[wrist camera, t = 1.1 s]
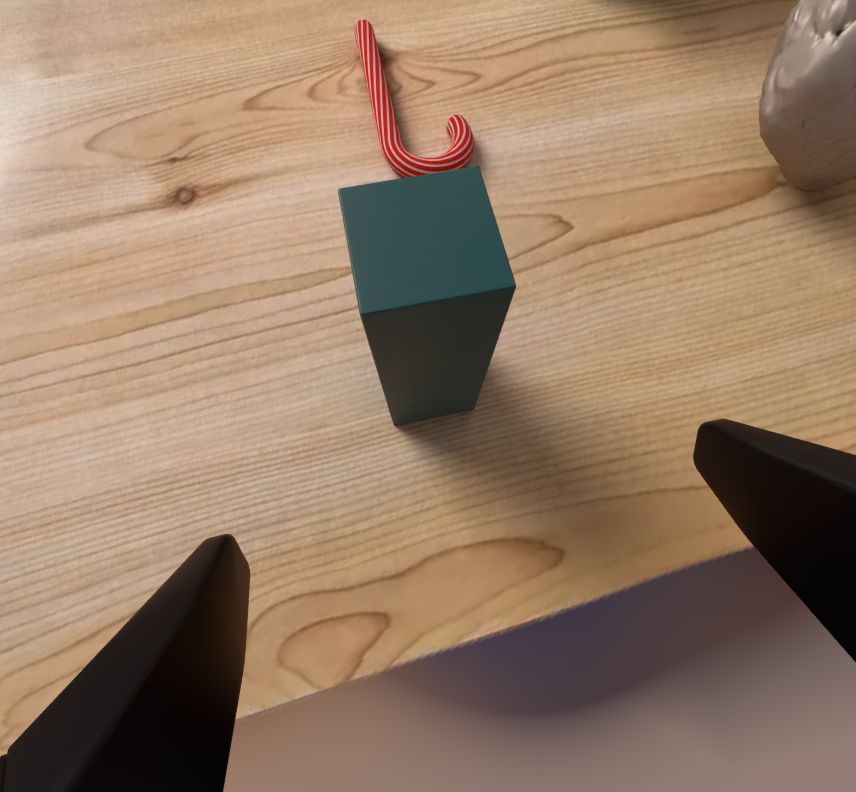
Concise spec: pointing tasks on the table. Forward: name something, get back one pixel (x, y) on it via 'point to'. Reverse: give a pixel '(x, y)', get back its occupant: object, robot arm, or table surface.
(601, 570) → the table surface
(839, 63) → the heart
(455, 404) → the block
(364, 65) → the candy cane
